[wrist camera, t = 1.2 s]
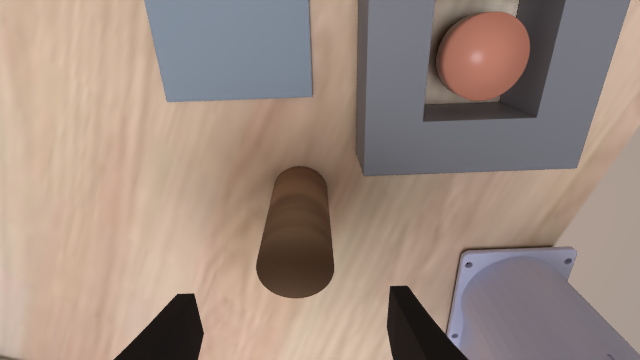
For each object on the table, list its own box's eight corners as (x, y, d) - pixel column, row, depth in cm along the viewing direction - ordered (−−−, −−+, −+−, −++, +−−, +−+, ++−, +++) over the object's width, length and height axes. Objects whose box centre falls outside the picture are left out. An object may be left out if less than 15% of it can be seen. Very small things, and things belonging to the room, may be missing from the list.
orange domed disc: (506, 94, 17) (519, 99, 16) (432, 97, 17) (440, 102, 16) (523, 11, 16) (539, 10, 14) (441, 13, 15) (451, 13, 14)
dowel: (327, 212, 22) (334, 296, 15) (276, 214, 22) (260, 299, 15) (326, 165, 21) (333, 234, 14) (271, 167, 21) (252, 238, 14)
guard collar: (535, 145, 20) (576, 168, 17) (355, 152, 20) (364, 176, 17) (592, -76, 16) (662, -101, 13) (359, -69, 16) (371, -92, 13)
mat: (312, 95, 19) (312, 96, 19) (169, 100, 19) (167, 102, 18) (305, -80, 16) (305, -83, 15) (131, -75, 15) (127, -77, 15)
